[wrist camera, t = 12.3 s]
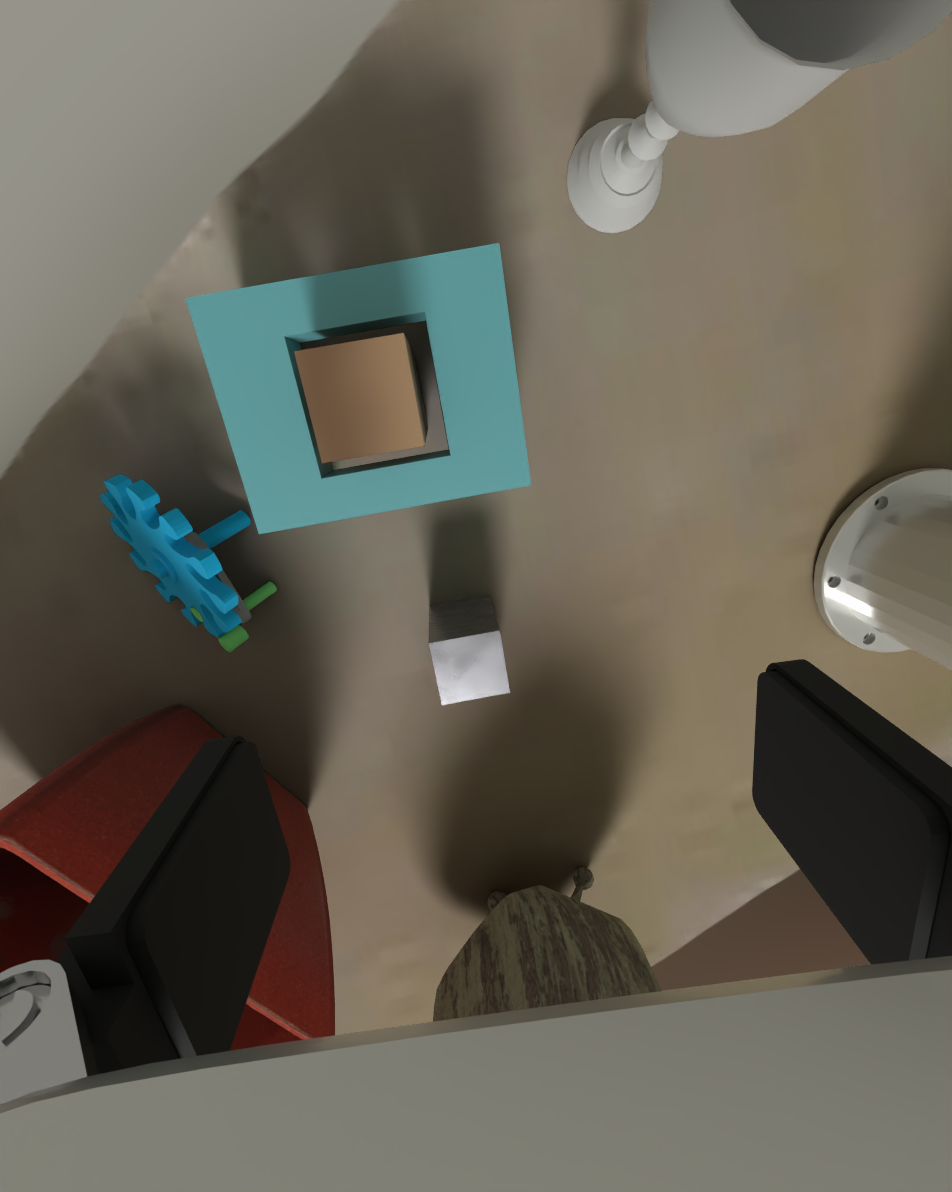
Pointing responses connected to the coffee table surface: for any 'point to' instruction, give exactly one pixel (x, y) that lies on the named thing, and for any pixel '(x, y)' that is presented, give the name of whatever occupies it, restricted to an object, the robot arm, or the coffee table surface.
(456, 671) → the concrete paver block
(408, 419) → the walnut pin
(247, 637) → the gear
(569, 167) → the chalice
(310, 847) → the plant pot
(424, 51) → the coffee table surface
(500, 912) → the tabletop clock
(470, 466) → the bridge block
